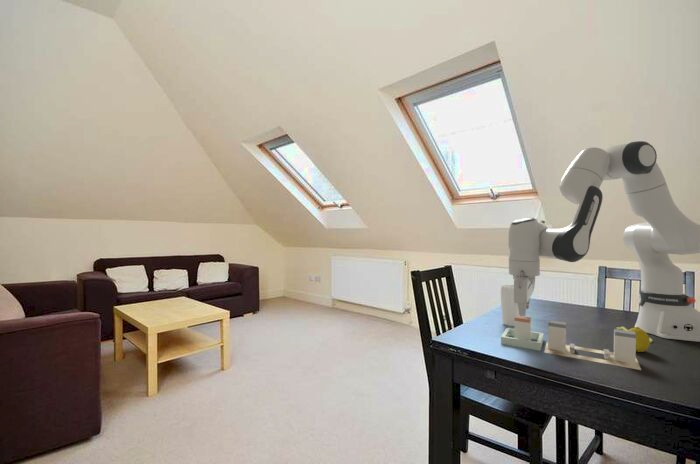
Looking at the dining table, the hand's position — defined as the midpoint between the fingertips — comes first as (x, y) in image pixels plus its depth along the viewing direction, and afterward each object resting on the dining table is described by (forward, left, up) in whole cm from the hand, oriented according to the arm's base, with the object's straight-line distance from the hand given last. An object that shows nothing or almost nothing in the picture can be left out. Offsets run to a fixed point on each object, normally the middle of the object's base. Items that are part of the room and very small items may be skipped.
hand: (524, 311), depth 109 cm
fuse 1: (-9, +1, -10) cm, 13 cm away
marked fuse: (0, 0, -10) cm, 10 cm away
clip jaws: (-17, +1, -11) cm, 20 cm away
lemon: (-29, -10, -11) cm, 33 cm away
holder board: (-17, +1, -11) cm, 20 cm away
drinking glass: (+7, -19, -11) cm, 23 cm away
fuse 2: (-25, +1, -10) cm, 27 cm away
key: (-30, -28, -11) cm, 42 cm away
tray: (0, 0, -11) cm, 10 cm away
